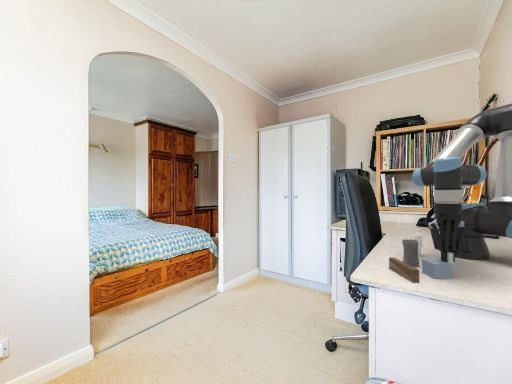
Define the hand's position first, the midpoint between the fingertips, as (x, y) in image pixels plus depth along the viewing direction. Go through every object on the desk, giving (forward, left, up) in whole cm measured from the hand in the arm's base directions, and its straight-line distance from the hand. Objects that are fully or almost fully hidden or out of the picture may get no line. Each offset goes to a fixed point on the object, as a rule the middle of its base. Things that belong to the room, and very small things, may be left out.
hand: (447, 270), depth 82 cm
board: (+15, -1, -2) cm, 15 cm away
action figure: (-5, -25, -2) cm, 26 cm away
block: (+4, 0, -2) cm, 4 cm away
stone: (+6, -11, -2) cm, 13 cm away
